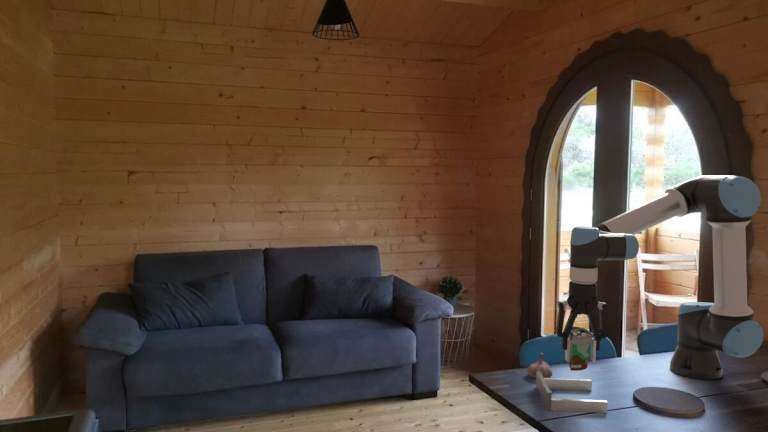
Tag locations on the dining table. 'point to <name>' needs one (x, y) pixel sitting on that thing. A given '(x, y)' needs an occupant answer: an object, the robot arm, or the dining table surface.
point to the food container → (579, 348)
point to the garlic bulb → (540, 368)
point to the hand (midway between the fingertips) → (580, 360)
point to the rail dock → (567, 404)
